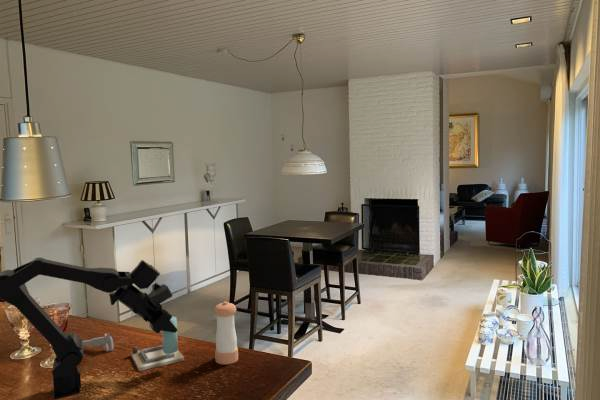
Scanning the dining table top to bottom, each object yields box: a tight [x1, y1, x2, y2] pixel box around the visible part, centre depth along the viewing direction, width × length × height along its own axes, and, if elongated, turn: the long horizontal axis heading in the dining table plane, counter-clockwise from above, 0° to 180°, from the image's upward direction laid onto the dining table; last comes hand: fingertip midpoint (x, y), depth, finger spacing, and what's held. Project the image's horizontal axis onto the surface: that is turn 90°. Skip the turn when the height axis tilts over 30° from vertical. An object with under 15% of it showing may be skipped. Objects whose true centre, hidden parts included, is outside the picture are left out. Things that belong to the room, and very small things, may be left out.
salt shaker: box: [213, 300, 239, 365], centre depth 149 cm, size 7×7×19 cm
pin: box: [161, 315, 179, 353], centre depth 143 cm, size 4×4×10 cm
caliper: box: [82, 332, 115, 352], centre depth 159 cm, size 20×1×6 cm, turn 79°
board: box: [130, 344, 185, 372], centre depth 152 cm, size 14×13×3 cm
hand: (174, 328), depth 144 cm, fingers closed on pin, 4 cm apart
